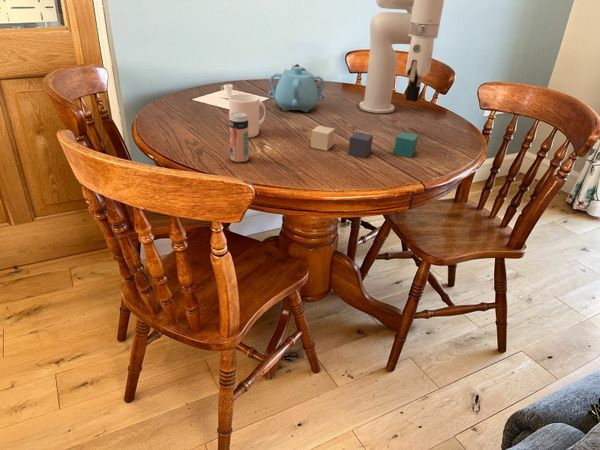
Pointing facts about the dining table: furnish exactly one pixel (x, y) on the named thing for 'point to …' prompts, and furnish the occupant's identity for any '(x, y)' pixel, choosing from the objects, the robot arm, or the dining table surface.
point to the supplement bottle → (238, 137)
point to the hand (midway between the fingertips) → (411, 100)
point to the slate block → (360, 144)
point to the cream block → (322, 138)
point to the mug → (248, 110)
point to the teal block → (405, 144)
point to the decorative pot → (296, 90)
